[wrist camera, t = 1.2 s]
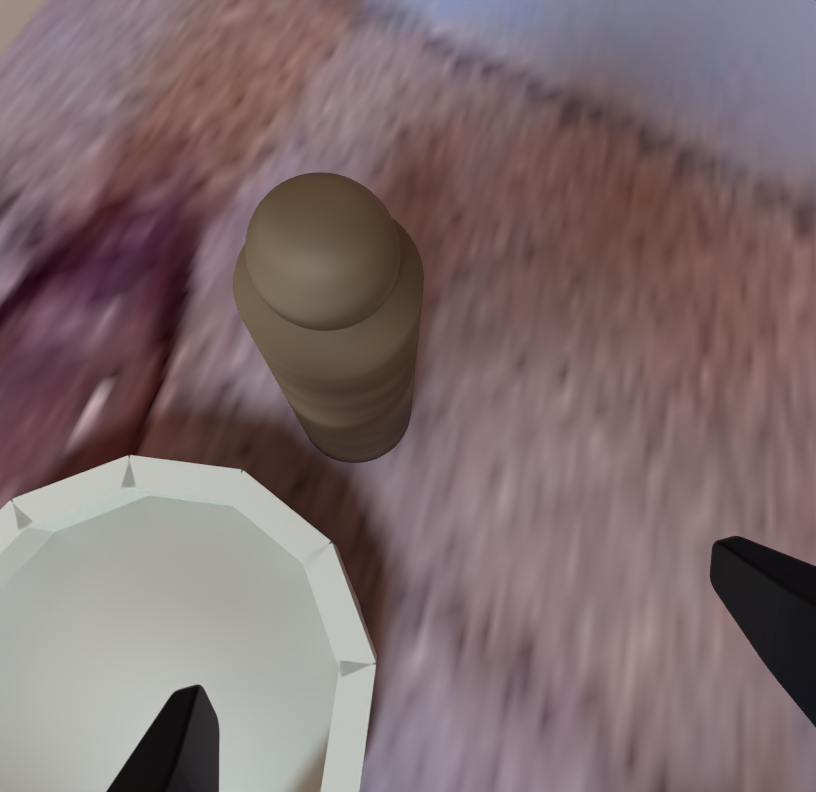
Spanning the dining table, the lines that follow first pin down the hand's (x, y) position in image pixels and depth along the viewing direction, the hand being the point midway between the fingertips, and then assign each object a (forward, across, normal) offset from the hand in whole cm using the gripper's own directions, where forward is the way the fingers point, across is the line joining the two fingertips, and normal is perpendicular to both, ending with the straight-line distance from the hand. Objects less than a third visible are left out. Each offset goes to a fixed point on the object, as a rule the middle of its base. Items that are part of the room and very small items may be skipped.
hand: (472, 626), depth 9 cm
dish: (+9, +10, +9) cm, 17 cm away
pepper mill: (+16, +1, +3) cm, 16 cm away
